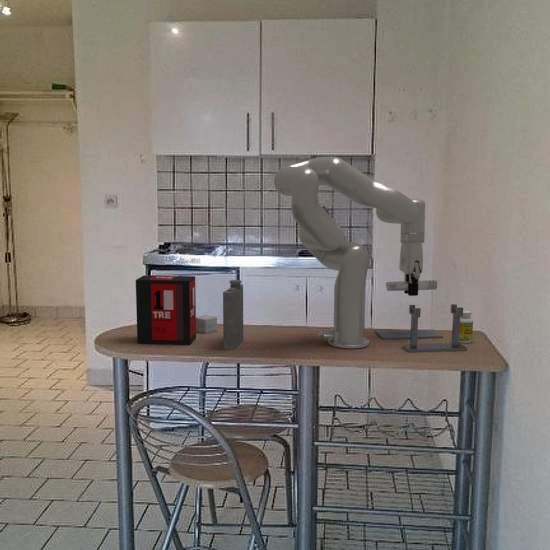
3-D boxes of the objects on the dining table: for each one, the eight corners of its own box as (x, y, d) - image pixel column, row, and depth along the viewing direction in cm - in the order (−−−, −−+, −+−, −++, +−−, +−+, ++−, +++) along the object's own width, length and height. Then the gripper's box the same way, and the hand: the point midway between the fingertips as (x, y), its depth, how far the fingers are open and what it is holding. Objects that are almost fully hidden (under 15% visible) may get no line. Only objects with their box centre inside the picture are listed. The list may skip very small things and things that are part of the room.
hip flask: (234, 337, 206) (234, 276, 203) (247, 338, 205) (246, 276, 202) (222, 350, 190) (221, 284, 187) (235, 351, 190) (235, 284, 187)
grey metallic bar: (388, 291, 205) (388, 282, 205) (386, 290, 208) (386, 281, 208) (437, 290, 207) (437, 281, 207) (433, 288, 210) (434, 279, 210)
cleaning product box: (196, 338, 205) (195, 276, 202) (190, 345, 196) (189, 280, 193) (145, 336, 206) (143, 275, 203) (137, 343, 198) (135, 279, 195)
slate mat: (382, 339, 204) (382, 337, 204) (375, 332, 213) (375, 330, 213) (443, 337, 207) (443, 336, 206) (433, 331, 215) (433, 329, 215)
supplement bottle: (462, 338, 206) (463, 308, 205) (475, 341, 202) (477, 311, 200) (450, 340, 203) (452, 310, 202) (464, 344, 199) (465, 313, 197)
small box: (205, 328, 218) (205, 314, 218) (217, 331, 215) (217, 316, 214) (193, 331, 214) (193, 317, 213) (205, 334, 211) (205, 319, 210)
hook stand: (408, 352, 189) (410, 309, 188) (402, 346, 195) (403, 304, 193) (466, 350, 191) (469, 307, 189) (459, 345, 197) (461, 303, 195)
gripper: (393, 235, 213) (392, 290, 216) (409, 241, 197) (407, 299, 200) (415, 235, 213) (414, 289, 216) (432, 240, 197) (431, 299, 200)
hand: (411, 293), depth 208 cm, fingers closed on grey metallic bar, 3 cm apart
